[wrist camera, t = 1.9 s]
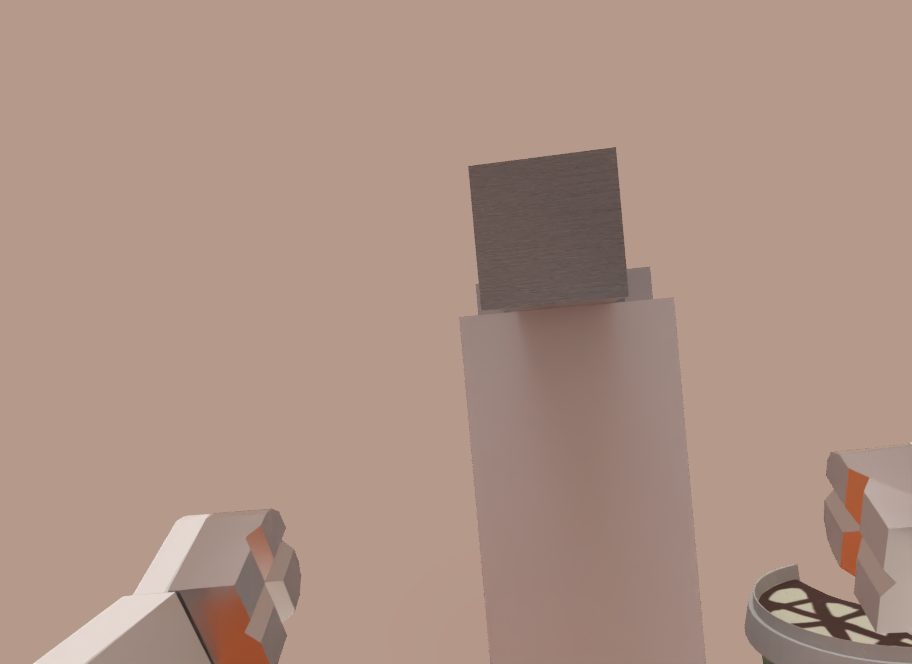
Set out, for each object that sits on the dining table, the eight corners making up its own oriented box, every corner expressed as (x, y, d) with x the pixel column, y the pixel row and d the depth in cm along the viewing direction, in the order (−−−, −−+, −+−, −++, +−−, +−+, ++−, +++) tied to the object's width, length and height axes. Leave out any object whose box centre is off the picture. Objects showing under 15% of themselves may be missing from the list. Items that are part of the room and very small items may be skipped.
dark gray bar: (481, 310, 17) (468, 166, 17) (538, 312, 41) (533, 251, 41) (628, 296, 17) (615, 147, 17) (601, 306, 40) (595, 245, 40)
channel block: (519, 984, 28) (456, 286, 28) (541, 742, 44) (501, 296, 43) (735, 999, 27) (670, 264, 26) (678, 744, 42) (637, 283, 42)
